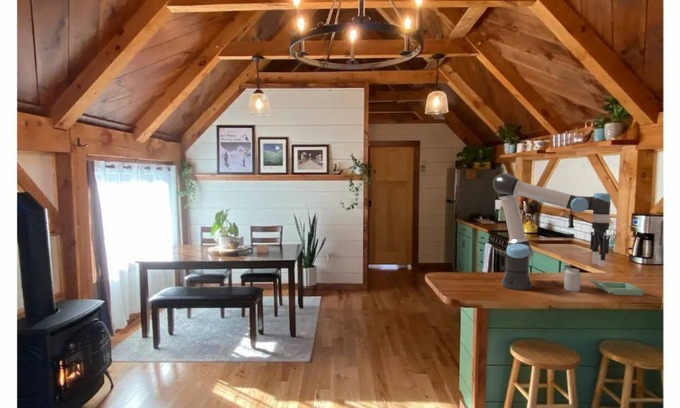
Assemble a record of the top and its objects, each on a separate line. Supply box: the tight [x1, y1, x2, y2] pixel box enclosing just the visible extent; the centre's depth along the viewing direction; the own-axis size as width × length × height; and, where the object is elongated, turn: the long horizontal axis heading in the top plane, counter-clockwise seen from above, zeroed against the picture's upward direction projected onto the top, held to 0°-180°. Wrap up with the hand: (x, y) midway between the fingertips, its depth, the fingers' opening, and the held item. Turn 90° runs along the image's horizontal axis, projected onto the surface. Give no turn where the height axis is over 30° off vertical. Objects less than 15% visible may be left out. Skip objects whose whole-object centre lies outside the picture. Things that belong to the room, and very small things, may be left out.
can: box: [563, 267, 582, 293], centre depth 208 cm, size 8×8×12 cm
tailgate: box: [589, 278, 612, 294], centre depth 207 cm, size 1×11×6 cm
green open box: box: [599, 281, 644, 296], centre depth 207 cm, size 14×14×4 cm
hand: (598, 264), depth 207 cm, fingers open, 5 cm apart
